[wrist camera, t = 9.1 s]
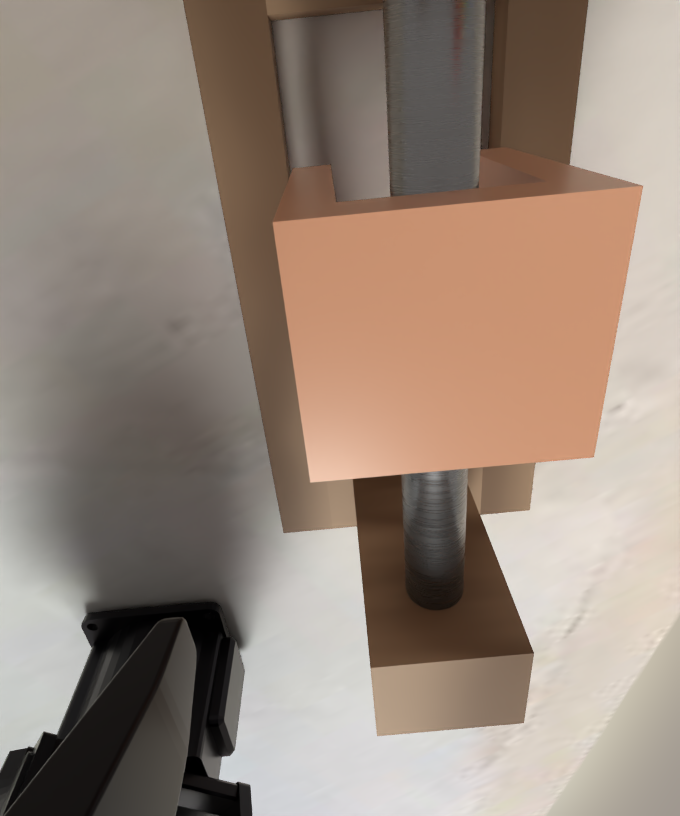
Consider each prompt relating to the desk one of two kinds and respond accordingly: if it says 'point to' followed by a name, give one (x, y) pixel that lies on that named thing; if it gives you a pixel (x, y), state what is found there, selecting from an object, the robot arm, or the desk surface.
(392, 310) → the clip
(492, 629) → the stand
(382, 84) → the desk surface
